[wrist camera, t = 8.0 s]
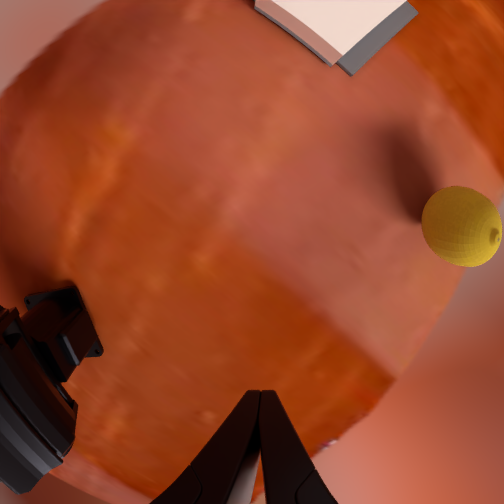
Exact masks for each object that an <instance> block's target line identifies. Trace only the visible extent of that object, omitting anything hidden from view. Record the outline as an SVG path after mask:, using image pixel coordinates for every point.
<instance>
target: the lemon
mask: <svg viewBox="0 0 504 504" xmlns="http://www.w3.org/2000/svg"><path fill="white" fill-rule="evenodd" d="M421 221H422V231H423V235H424V238H425V240H426V242H427V244H428V245H429V247H430V248H431V249H432V250H433V251H434V252H435V254H437V255H438V256H439V257H440V258H442V259H444V260H446V261H448V262H449V263H452V264H455V265H459V266H468V267H472V266H477V265H481V264H483V263H485V262H486V261H488V260H489V259H490V258H491V257H492V256H493V254H495V252H496V251H497V249H498V247H499V244H500V242H501V237H502V223H501V219H500V216H499V213H498V211H497V209H496V207H495V206H494V204H493V203H492V202H491V201H490V200H489V199H488V198H487V197H486V196H484V195H482V194H481V193H479V192H477V191H475V190H473V189H471V188H467V187H461V186H451V187H447V188H443V189H441V190H439V191H437V192H436V193H434V194H433V195H432V196H431V197H430V199H429V200H428V201H427V203H426V205H425V207H424V210H423V213H422V220H421Z"/></svg>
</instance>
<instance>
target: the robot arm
mask: <svg viewBox="0 0 504 504" xmlns="http://www.w3.org/2000/svg"><path fill="white" fill-rule="evenodd" d="M72 291H73V292H74V294H73V293H72ZM29 301H30V302H29ZM24 302H25V304H26V307H27V309H28V312H27V313H25V314H24V315H23V316H22V317H21V318H20V316H19V312H18V310H17V308H16V307H14V308H11V309H6V308H3V307H2V306H1V305H0V482H3V483H4V484H5V485H6V486H7V487H8V488H10V489H11V490H12V491H13V492H14V493H15V494H22V493H26V492H29V491H31V490H32V488H33V487H34V486H35V485H36V483H37V482H38V481H39V480H40V479H41V478H42V477H43V476H44V475H45V474H46V473H47V472H49V471H50V470H51V469H53V468H55V467H57V466H59V465H61V464H62V463H63V460H62V458H64V457H65V456H66V455H67V454H68V452H69V451H70V449H71V448H72V445H73V442H74V440H75V427H76V419H77V411H78V404H77V403H76V402H75V400H73V399H72V398H71V397H70V395H69V394H68V393H67V391H66V390H65V389H64V387H63V386H62V385H61V383H62V382H67V380H68V379H69V377H70V376H71V374H72V373H73V371H74V370H75V368H76V367H77V366H79V365H80V363H81V362H82V360H83V359H84V358H86V357H99V356H101V355H102V354H103V352H104V350H103V347H102V345H101V343H100V341H99V339H98V335H97V333H96V331H95V329H94V326H93V324H92V322H91V319H90V317H89V315H88V312H87V311H86V308H85V306H84V303H83V301H82V298H81V296H80V293H79V290H78V289H77V288H76V287H75V286H69V287H64V288H59V289H55V290H50V291H45V292H40V293H36V294H31V295H28V296H26V297H25V298H24ZM96 349H97V350H99V352H98V351H97V350H96ZM260 450H261V461H262V471H263V481H264V490H265V500H266V504H338V502H337V501H336V500H335V498H334V497H333V496H332V495H331V493H330V492H329V490H328V488H327V487H326V485H325V484H324V482H323V480H322V479H321V477H320V475H319V473H318V471H317V470H316V469H315V466H314V464H313V462H312V461H311V459H310V457H309V455H308V453H307V451H306V449H305V447H304V446H303V444H302V442H301V440H300V438H299V436H298V434H297V432H296V430H295V428H294V427H293V425H292V423H291V421H290V419H289V417H288V415H287V413H286V411H285V409H284V407H283V405H282V403H281V401H280V399H279V397H278V395H277V393H276V391H275V390H262V391H260V390H248V391H246V393H245V394H244V395H243V397H242V398H241V399H240V401H239V402H238V404H237V405H236V406H235V408H234V409H233V410H232V412H231V413H230V414H229V415H228V417H227V418H226V419H225V421H224V422H223V423H222V425H221V426H220V427H219V428H218V430H217V431H216V432H215V434H214V435H213V436H212V437H211V439H210V440H209V441H208V442H207V444H206V445H205V446H204V447H203V449H202V450H201V451H200V452H199V453H198V455H197V456H196V457H195V458H194V460H193V461H192V462H191V463H190V465H188V467H187V468H186V469H185V470H184V471H183V472H182V474H181V475H180V476H179V477H178V478H177V479H176V480H175V481H174V482H173V483H172V484H171V485H170V486H169V487H168V488H167V489H166V490H165V491H164V492H162V493H161V494H160V495H159V496H158V497H157V498H155V499H154V500H153V501H152V502H151V503H149V504H250V501H251V496H252V492H253V487H254V483H255V478H256V473H257V468H258V463H259V458H260Z"/></svg>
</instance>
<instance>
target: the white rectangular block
mask: <svg viewBox="0 0 504 504" xmlns="http://www.w3.org/2000/svg"><path fill="white" fill-rule="evenodd" d="M406 1H407V0H256V1H255V7H254V9H255V10H257V11H259V12H260V13H262V14H263V15H265V16H266V17H267V18H269V19H270V20H272V21H273V22H275V23H276V24H277V25H279V26H280V27H282V28H283V29H284V30H286V31H287V32H288V33H290V34H291V35H292V36H294V37H295V38H296V39H297V40H299V41H300V42H301V43H303V44H304V45H305V46H306V47H308V48H309V49H310V50H311V51H312V52H314V53H315V54H316V55H317V56H318V57H320V58H321V59H322V60H323V61H324V62H325V63H326V64H328V65H329V66H330V67H331V66H332V65H334V64H335V63H336V62H337V61H338V60H339V59H340V58H341V57H342V56H343V55H344V54H345V53H346V52H348V51H349V50H350V49H351V48H352V47H353V46H354V45H355V44H356V43H357V42H359V41H360V40H361V39H362V38H363V37H364V36H365V35H366V34H368V33H369V32H370V31H371V30H372V29H373V28H374V27H376V26H377V25H378V24H379V23H380V22H381V21H383V20H384V19H385V18H386V17H387V16H388V15H390V14H391V13H392V12H393V11H394V10H396V9H397V8H398V7H399V6H401V5H402V4H403V3H404V2H406Z"/></svg>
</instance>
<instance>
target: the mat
mask: <svg viewBox="0 0 504 504" xmlns="http://www.w3.org/2000/svg"><path fill="white" fill-rule="evenodd" d="M253 1H256V0H253ZM417 14H418V12H417V11H416V10H415V9H414V8H413V7H412V6H411V5H410V4H409V3H408V2H407V1H406V2H404V3H403V4H402V5H401V6H399V7H398V8H397V9H396V10H394V11H393V12H392V13H391V14H390V15H388V16H387V17H386V18H385V19H384V20H383V21H381V22H380V23H379V24H378V25H377V26H376V27H374V28H373V29H372V30H371V31H370V32H369V33H368V34H366V35H365V36H364V37H363V38H362V39H361V40H360V41H359V42H357V43H356V44H355V45H354V46H353V47H352V48H351V49H350V50H349V51H348V52H346V53H345V54H344V55H343V56H342V57H341V58H340V59H339V60H338V61H337V62H336V64H338V65H339V66H340V67H341V68H342V69H343V70H344V71H345V72H346V73H347V74H348V75H349V76H353V75H354V74H355V73H356V72H357V71H358V70H359V69H360V68H361V67H362V66H363V65H364V64H365V63H366V62H367V61H368V60H369V59H370V58H371V57H372V56H373V55H374V54H375V53H376V52H377V51H378V50H379V49H380V48H381V47H383V46H384V45H385V44H386V43H387V42H388V41H389V40H390V39H391V38H392V37H393V36H394V35H395V34H396V33H397V32H398V31H400V30H401V29H402V28H403V27H404V26H405V25H406V24H407V23H408V22H409V21H410V20H411V19H413V18H414V17H415V16H416V15H417Z"/></svg>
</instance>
